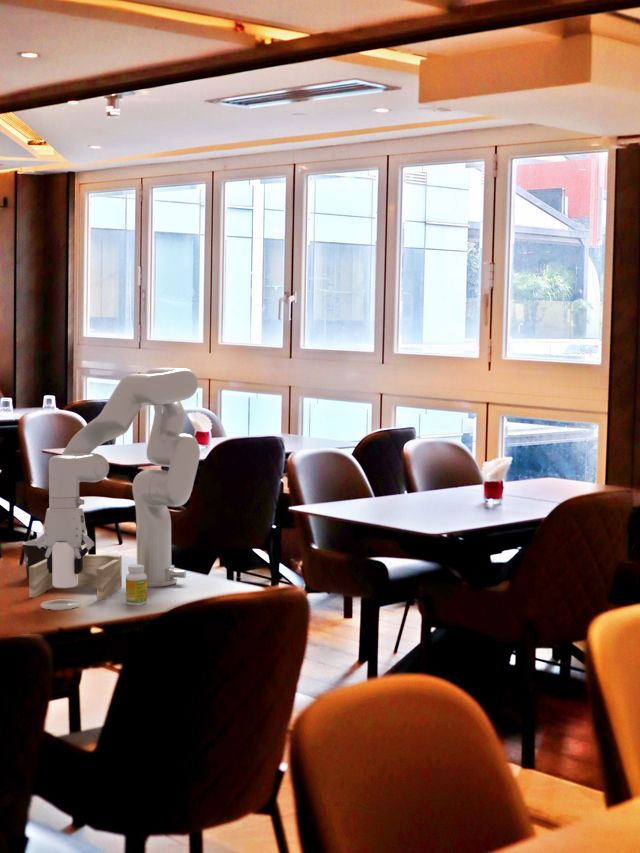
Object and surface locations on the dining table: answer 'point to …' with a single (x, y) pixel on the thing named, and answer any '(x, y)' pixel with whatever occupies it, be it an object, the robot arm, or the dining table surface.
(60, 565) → the can
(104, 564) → the wooden arch stand
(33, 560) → the coffee mug
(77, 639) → the dining table surface
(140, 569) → the supplement bottle
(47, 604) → the coaster
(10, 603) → the dining table surface
